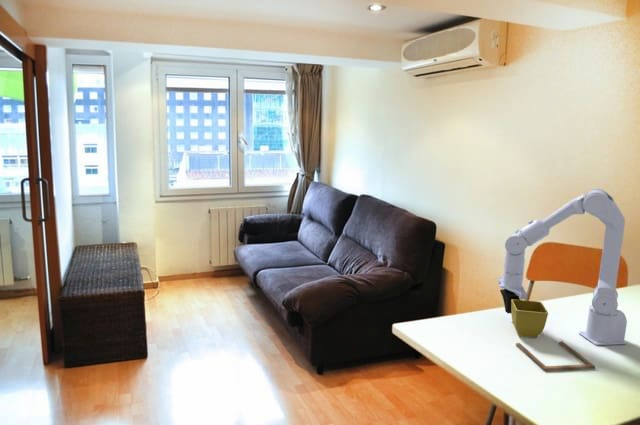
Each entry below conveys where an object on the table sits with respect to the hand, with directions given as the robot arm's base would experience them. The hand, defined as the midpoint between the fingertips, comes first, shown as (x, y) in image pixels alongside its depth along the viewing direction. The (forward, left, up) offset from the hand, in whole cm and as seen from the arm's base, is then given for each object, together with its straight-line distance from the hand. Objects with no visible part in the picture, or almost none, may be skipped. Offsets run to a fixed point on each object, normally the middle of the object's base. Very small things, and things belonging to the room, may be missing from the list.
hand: (509, 312), depth 154 cm
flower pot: (0, +10, -3) cm, 11 cm away
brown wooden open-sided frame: (0, +24, -2) cm, 25 cm away
